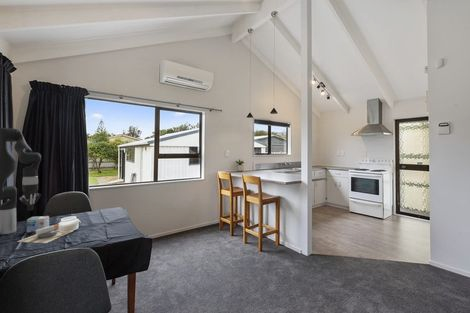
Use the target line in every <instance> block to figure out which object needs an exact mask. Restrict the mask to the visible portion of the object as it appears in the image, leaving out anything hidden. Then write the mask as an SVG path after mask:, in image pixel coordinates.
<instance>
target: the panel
mask: <svg viewBox="0 0 470 313" xmlns="http://www.w3.org/2000/svg"><path fill="white" fill-rule="evenodd" d="M59 230H60V229H57V234H56V235H55V236H52V237H48V238H38V235H36V234H34V235H31V236H28V237H26V238H22V239H20V240H18V241H16V242H18V243H37V244H48V243H50V242H52V241H54V240H56V239H58V238H61V237H63V236H65V235H67V234H70V233H72V232H73V230H68V231H59Z"/></svg>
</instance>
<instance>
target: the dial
mask: <svg viewBox="0 0 470 313" xmlns="http://www.w3.org/2000/svg"><path fill="white" fill-rule="evenodd" d="M57 230H59V224H53V225H49V227H45V228H42V229H38V230H36V232H35V235H38V238H48V237H52V236H55V235H56V234H57Z"/></svg>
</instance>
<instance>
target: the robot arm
mask: <svg viewBox="0 0 470 313" xmlns="http://www.w3.org/2000/svg"><path fill="white" fill-rule="evenodd" d="M7 142H10V143H14V142H16V143H15V144H14V147H13V148H14V150H15V152H16V153H17V154H18V155H17V156H18V161H19V162H20V163H22V164H26V165H27V164H31V165H30V166H26V167H24V168H23V169H22V186H21V187H22V192H23V193H22V196H20V197H18V198H17V196H18V188H17V187H16V186H14V185H9V186H4V185H5V182H6V181H7V179H8V178H9V177H10V176H12V175H13V173H14V172H15V170H16V168H17V167H16V166H17V160H16V157H15V156H14V155H13V153H11V151H10V150H9V149H8V146H7ZM41 161H42V155H41V153H40V152H33V150H32V149H31V147H30V146H29V145H28V143H27V142H26V140H25V137H24V134H23V133H22V131H21V130H20V129H19V128H18V129H17V128H9V127H0V201H4V200H6V201H5V202H4V203H1V204H0V235H7V234H8V235H9V234H12V233H16V232H17V199H18V200H19V201H20V202H21V203H22V204H23V205H27V211H33V210H34V208H35V207H34V206H35V205H34V204H36V203H37V202H38V200H39V199H40V198H41V196H42V194H41V193H39V192H38V191H39V174H38V171H39V166H40V163H41Z"/></svg>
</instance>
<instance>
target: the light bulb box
mask: <svg viewBox="0 0 470 313" xmlns="http://www.w3.org/2000/svg"><path fill="white" fill-rule="evenodd" d="M49 226H50V215H45V216H31V217H29V218H28V219H26V233H36V230H38V229H42V228H45V227H49Z"/></svg>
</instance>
